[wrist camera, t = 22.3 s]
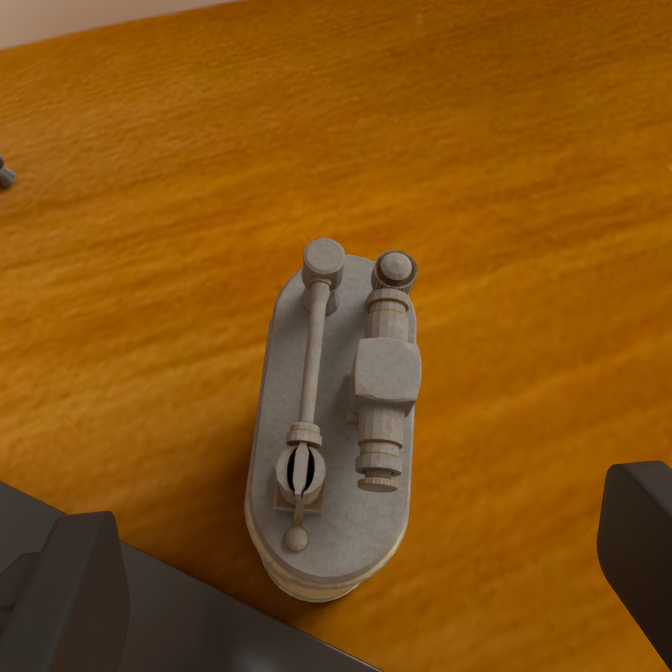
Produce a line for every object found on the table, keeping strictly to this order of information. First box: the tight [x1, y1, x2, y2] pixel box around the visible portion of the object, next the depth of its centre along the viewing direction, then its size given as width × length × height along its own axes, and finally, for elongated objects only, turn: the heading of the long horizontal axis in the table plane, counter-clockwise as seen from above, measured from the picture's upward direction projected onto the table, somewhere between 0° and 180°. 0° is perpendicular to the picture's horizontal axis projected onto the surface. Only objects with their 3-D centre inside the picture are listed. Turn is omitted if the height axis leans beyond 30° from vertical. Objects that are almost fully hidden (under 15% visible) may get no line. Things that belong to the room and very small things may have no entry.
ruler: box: [0, 481, 384, 672], centre depth 18 cm, size 20×3×1 cm, turn 66°
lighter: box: [244, 238, 422, 602], centre depth 16 cm, size 7×4×10 cm, turn 175°
